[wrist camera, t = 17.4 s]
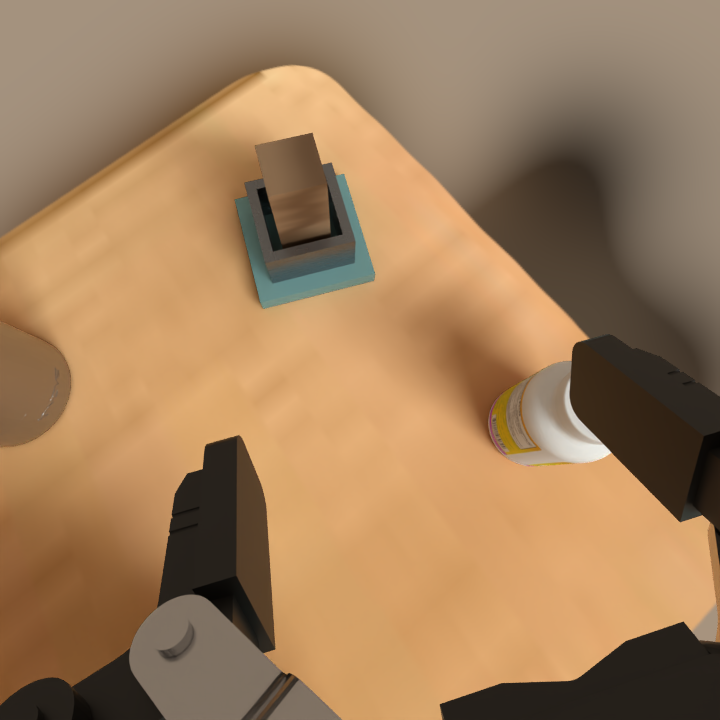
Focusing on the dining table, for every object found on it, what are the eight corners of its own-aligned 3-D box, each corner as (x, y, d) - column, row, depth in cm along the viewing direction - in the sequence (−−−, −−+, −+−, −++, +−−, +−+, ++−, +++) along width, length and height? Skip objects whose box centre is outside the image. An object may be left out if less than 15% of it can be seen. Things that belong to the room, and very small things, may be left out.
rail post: (286, 262, 41) (268, 197, 32) (275, 221, 42) (254, 145, 33) (331, 251, 42) (327, 183, 32) (320, 211, 43) (312, 132, 33)
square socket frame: (272, 283, 41) (265, 263, 37) (253, 209, 42) (244, 182, 39) (354, 263, 42) (355, 241, 38) (333, 190, 43) (331, 162, 39)
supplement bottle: (578, 412, 41) (681, 384, 28) (543, 482, 39) (635, 485, 27) (507, 371, 41) (577, 326, 29) (470, 438, 40) (527, 421, 27)
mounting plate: (263, 308, 42) (260, 302, 40) (238, 208, 44) (234, 199, 43) (374, 280, 43) (375, 273, 41) (344, 183, 45) (343, 173, 44)
